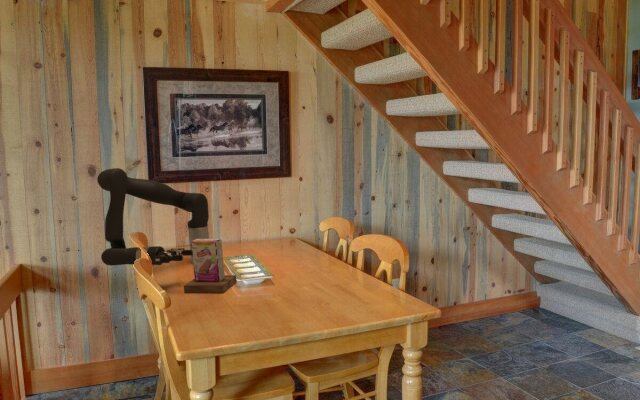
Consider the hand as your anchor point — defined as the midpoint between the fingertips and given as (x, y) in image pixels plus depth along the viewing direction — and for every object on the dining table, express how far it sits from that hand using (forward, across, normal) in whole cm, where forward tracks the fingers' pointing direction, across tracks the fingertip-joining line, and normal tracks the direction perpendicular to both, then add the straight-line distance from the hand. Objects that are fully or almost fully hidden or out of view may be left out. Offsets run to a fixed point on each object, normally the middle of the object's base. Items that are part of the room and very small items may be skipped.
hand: (187, 255), depth 211 cm
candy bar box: (+9, 0, +10) cm, 14 cm away
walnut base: (+9, 0, +13) cm, 16 cm away
